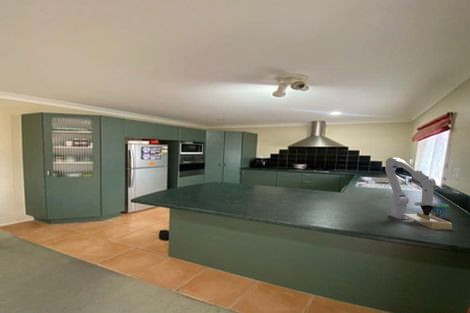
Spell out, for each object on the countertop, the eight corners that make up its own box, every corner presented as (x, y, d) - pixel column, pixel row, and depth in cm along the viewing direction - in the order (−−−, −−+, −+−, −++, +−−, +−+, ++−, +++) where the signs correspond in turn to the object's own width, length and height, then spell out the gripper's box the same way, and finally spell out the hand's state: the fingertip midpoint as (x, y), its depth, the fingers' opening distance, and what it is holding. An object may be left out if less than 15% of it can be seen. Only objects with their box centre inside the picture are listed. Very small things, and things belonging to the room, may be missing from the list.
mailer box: (413, 220, 162) (414, 214, 162) (431, 221, 161) (432, 215, 161) (431, 228, 146) (432, 222, 146) (451, 229, 145) (452, 223, 145)
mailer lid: (402, 214, 162) (402, 210, 162) (419, 215, 162) (420, 211, 161) (418, 221, 146) (418, 217, 146) (438, 222, 146) (438, 218, 145)
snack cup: (433, 219, 165) (434, 205, 165) (421, 215, 176) (422, 202, 175) (455, 220, 165) (456, 206, 165) (442, 215, 176) (443, 202, 175)
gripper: (420, 197, 149) (419, 217, 150) (443, 198, 149) (442, 218, 149) (412, 194, 157) (411, 214, 157) (435, 195, 156) (433, 215, 156)
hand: (426, 216), depth 154 cm, fingers closed
